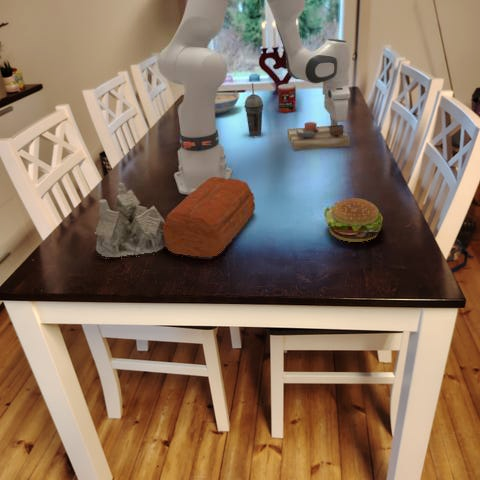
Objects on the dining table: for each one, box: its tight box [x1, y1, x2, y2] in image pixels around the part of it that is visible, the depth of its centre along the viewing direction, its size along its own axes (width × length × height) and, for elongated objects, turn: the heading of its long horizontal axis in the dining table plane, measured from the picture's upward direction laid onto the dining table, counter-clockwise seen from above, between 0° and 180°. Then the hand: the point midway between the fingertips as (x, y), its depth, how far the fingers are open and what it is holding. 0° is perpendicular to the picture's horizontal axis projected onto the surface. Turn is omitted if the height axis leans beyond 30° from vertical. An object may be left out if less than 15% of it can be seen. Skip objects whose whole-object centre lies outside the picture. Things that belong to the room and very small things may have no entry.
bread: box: [163, 177, 256, 257], centre depth 116 cm, size 16×27×11 cm, turn 158°
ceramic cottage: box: [94, 182, 167, 257], centre depth 111 cm, size 16×16×15 cm
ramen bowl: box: [215, 89, 246, 115], centre depth 214 cm, size 25×23×8 cm
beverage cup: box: [244, 82, 264, 138], centre depth 178 cm, size 7×7×20 cm
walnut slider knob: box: [329, 124, 345, 136], centre depth 166 cm, size 2×4×3 cm, turn 93°
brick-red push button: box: [304, 121, 318, 132], centre depth 173 cm, size 4×4×2 cm
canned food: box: [277, 83, 297, 114], centre depth 207 cm, size 8×8×11 cm
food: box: [323, 197, 383, 243], centre depth 112 cm, size 14×14×8 cm
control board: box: [286, 125, 351, 152], centre depth 171 cm, size 16×20×4 cm
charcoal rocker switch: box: [296, 130, 315, 137], centre depth 166 cm, size 4×6×1 cm, turn 93°
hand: (333, 127), depth 170 cm, fingers closed
